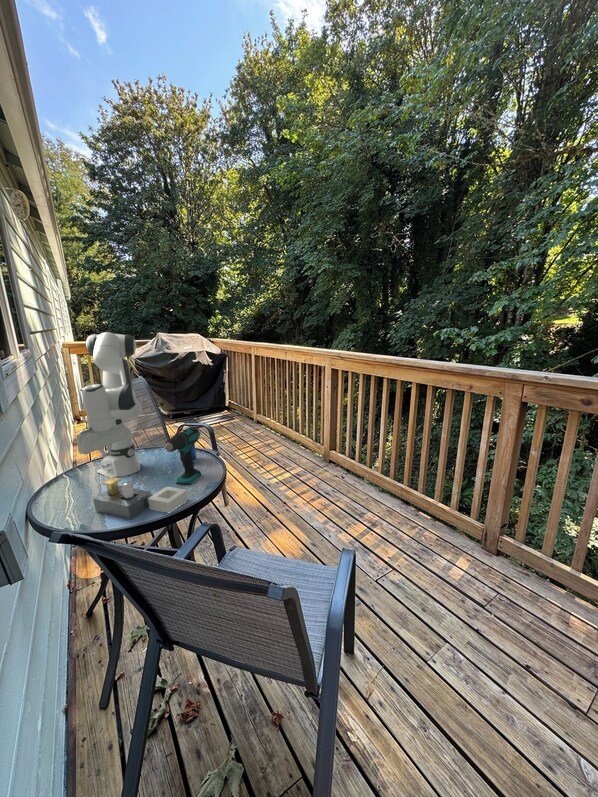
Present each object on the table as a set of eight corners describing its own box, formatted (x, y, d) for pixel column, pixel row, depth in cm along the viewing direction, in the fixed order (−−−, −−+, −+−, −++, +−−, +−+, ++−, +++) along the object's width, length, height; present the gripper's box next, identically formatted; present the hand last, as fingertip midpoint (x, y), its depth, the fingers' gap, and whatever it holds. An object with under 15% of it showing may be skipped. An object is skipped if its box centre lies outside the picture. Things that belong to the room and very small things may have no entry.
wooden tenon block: (105, 498, 148) (101, 482, 146) (115, 492, 152) (112, 477, 150) (113, 500, 146) (110, 483, 144) (123, 494, 150) (120, 478, 148)
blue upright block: (195, 463, 189) (191, 436, 186) (179, 465, 189) (175, 437, 185) (198, 457, 198) (194, 430, 194) (183, 458, 197) (179, 432, 193)
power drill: (181, 495, 156) (173, 443, 150) (163, 494, 158) (155, 442, 152) (207, 470, 181) (201, 424, 175) (191, 469, 183) (185, 423, 177)
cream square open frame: (149, 509, 146) (147, 498, 145) (168, 496, 156) (167, 486, 154) (170, 513, 142) (168, 502, 140) (188, 500, 151) (186, 490, 150)
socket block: (95, 511, 147) (92, 498, 145) (119, 497, 157) (117, 485, 156) (130, 519, 139) (128, 506, 137) (153, 504, 150) (151, 491, 148)
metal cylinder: (124, 511, 146) (119, 485, 143) (132, 506, 149) (127, 480, 146) (131, 512, 144) (126, 486, 141) (139, 507, 148) (134, 481, 145)
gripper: (81, 433, 131) (88, 467, 134) (126, 417, 149) (132, 448, 152) (70, 432, 133) (77, 465, 137) (116, 416, 152) (121, 446, 155)
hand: (106, 456), depth 145 cm, fingers closed
